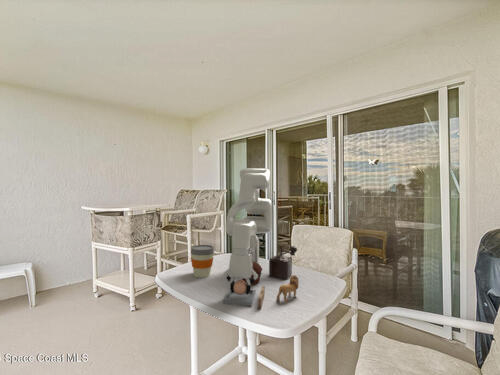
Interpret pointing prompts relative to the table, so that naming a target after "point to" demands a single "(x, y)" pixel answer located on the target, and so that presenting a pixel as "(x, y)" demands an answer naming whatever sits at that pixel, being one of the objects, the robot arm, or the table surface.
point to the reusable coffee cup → (202, 260)
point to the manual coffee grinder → (281, 264)
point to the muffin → (258, 270)
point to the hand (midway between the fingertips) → (240, 292)
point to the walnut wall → (261, 297)
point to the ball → (240, 287)
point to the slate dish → (239, 298)
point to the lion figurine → (288, 288)
